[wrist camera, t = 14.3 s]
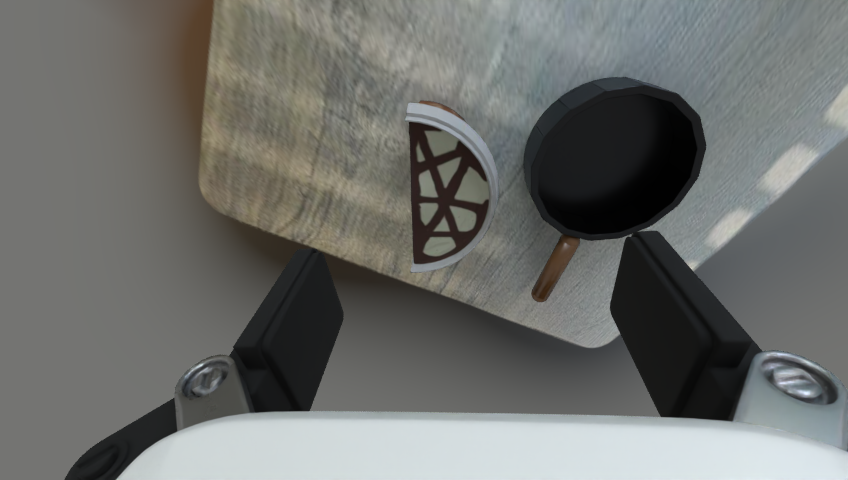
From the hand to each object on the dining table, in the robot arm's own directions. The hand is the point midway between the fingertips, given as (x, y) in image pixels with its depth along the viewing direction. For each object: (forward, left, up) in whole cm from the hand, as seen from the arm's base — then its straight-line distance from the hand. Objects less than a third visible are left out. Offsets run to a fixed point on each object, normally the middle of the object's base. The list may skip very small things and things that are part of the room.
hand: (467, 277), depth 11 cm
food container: (+4, -1, -22) cm, 22 cm away
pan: (+9, +10, -22) cm, 25 cm away
